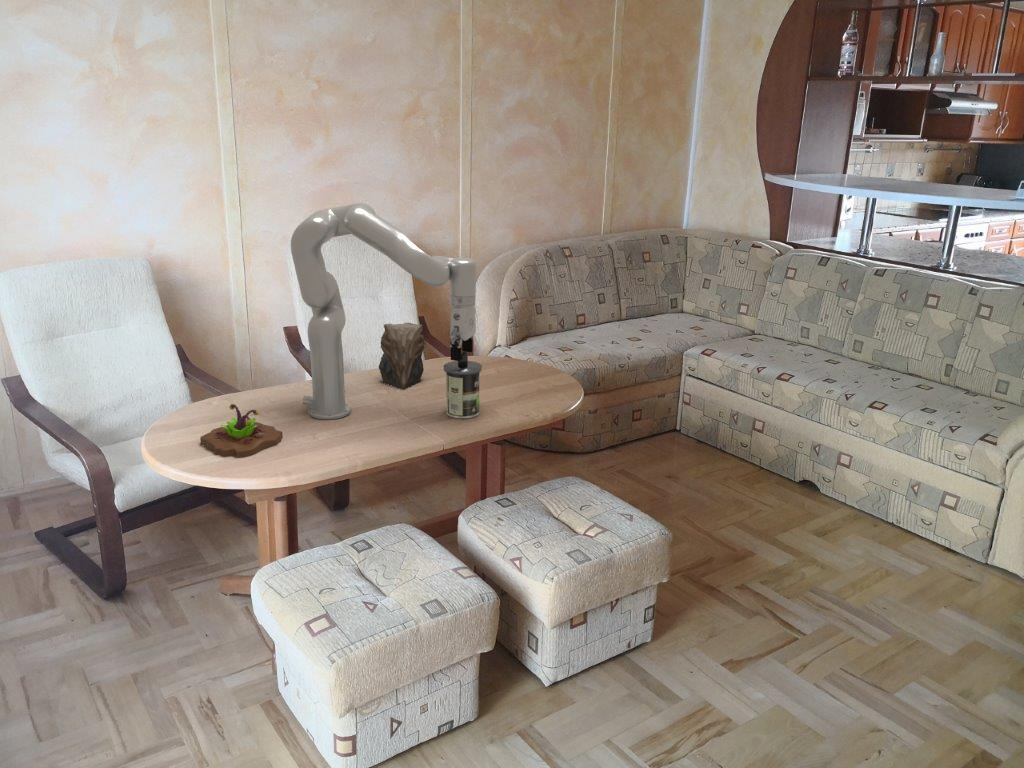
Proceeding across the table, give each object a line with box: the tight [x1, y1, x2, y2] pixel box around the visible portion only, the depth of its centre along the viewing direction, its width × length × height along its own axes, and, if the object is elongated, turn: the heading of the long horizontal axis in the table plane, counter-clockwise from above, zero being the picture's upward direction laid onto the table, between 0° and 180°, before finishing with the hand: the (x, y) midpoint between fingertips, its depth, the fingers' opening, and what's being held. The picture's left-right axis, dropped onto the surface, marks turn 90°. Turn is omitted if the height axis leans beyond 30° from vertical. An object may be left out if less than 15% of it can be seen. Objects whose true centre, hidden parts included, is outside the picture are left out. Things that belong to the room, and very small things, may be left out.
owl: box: [378, 322, 425, 391], centre depth 284 cm, size 13×13×20 cm
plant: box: [199, 403, 284, 459], centre depth 234 cm, size 20×20×11 cm
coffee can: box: [445, 372, 481, 419], centre depth 258 cm, size 10×10×14 cm
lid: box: [443, 351, 483, 375], centre depth 255 cm, size 12×12×5 cm
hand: (461, 355), depth 255 cm, fingers open, 9 cm apart
